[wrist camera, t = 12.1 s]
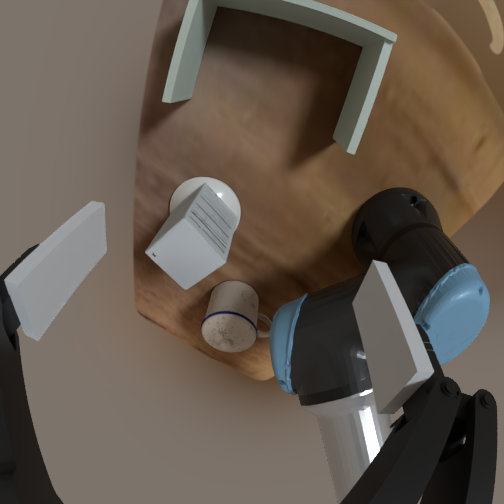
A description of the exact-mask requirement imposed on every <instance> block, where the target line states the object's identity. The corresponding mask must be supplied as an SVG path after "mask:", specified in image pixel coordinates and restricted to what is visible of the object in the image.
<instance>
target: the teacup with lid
mask: <svg viewBox="0 0 504 504" xmlns="http://www.w3.org/2000/svg"><path fill="white" fill-rule="evenodd" d="M258 304H259V299H258V295H257V293H256V292H255V290H254V289H253V288H252V287H251V286H249V285H247V284H246V283H243V282H240V281H226V282H223V283H220V284H219V285H217V286H216V287H215V288H214V290H213V291H212V294H211V297H210V301H209V305H208V308H207V312H206V316H205V319H204V320H203V322H202V325H201V332H202V335H203V338H204V339H205V341H206V342H207V343H208V344H209V345H211V346H212V347H214V348H216V349H218V350H221V351H224V352H240V351H244V350H246V349H248V348H249V347H251V346H252V345H253V344H254V342H255V341H256V339H257V337H261V338H267V337H269V336H270V330H271V324H272V322H271V320H270V319H269V318H268V317H267V316H265V315H263V314H261V313H258ZM257 319H259V320H261V321H263V322H264V323H265V324H266V325H267V327H268V330H269V331H267V332H264V331H260V330H257Z"/></svg>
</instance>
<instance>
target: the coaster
mask: <svg viewBox="0 0 504 504" xmlns="http://www.w3.org/2000/svg"><path fill="white" fill-rule="evenodd" d="M204 183H207V184H208V185H209V186H210V187H211V189H212V190H213V191H214V192H215V193H216V194H217V195H218V196H219V197H220V198H221V199H222V200H223V201H224V203H225V204H226V205H227V206H228V207H229V208H230V209H231V210H232V211H233V212H234V214H235V215H236V216H237V221H236V225H235V229H234V231H235V230H236V228H237V226H238V224H239V221H240V216H241V207H240V203H239V200H238V197H237V196H236V194H235V192H234V191H233V190H232V189H231V188H230V187H229V186H228V185H227V184H226V183H224V182H222V181H221V180H218V179H216V178H213V177H207V176H199V177H194V178H191V179H188V180H186V181H185V182H183V183H182V184H181V185H180V186H179V187H178V188H177V189H176V190H175V192H174V193H173V195H172V198H171V201H170V214H171V213H172V211H173V210H174V209H175V208H176V207H177V206H178V205H179V204H181V203H182V202H183V201H184V200H185V199H186V198H187V197H188V196H189V195H191V194H192V193H193V192H194V191H195V190H196V189H198V188H199V187H200V186H201V185H202V184H204Z"/></svg>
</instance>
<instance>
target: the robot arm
mask: <svg viewBox="0 0 504 504" xmlns="http://www.w3.org/2000/svg"><path fill="white" fill-rule="evenodd" d="M352 243H353V247H354V250H355V252H356V255H357V257H358V259H359V261H360V262H361V264H362V265H363V266H364V267H365V268H366V269H367V270H368V272H367V273H364V274H361V275H359V276H356V277H354V278H351V279H348V280H346V281H343V282H341V283H338V284H335V285H332V286H330V287H327V288H324V289H322V290H319V291H316V292H313V293H311V292H309V293H306V294H304V295H303V296H302V297H300V298H298V299H295V300H293V301H290V302H288V303H285V304H284V305H282V306H281V307H280V308H279V309H278V310H277V311H276V313H275V315H274V317H273V321H272V324H271V330H270V353H271V361H272V366H273V370H274V374H275V376H276V379H278V380H279V386H280V387H281V389H282V390H283V391H284V392H286V393H288V394H292V395H296V394H298V395H299V400H300V404H301V407H302V408H303V409H305V410H307V411H309V412H311V413H312V414H314V415H315V416H316V417H317V419H318V423H319V427H320V431H321V435H322V439H323V443H324V448H325V452H326V456H327V460H328V464H329V468H330V473H331V476H332V481H333V485H334V490H335V493H336V498H337V503H338V504H417V503H418V501H419V500H420V498H421V496H422V499H421V502H420V504H492V499H493V492H494V484H495V473H496V460H497V406H496V401H495V399H494V397H493V395H492V394H491V393H490V392H488V391H487V390H484V389H480V390H478V391H477V392H476V393H475V394H474V395H473V396H470V395H467V394H464V393H461V390H460V388H459V386H458V384H457V383H456V382H455V381H454V380H453V379H451V378H449V377H445V376H444V374H443V371H442V369H441V366H440V365H442V364H444V363H446V362H448V361H450V360H452V359H453V358H455V357H456V356H458V355H459V354H460V353H461V352H463V351H464V350H465V349H466V348H467V347H468V346H469V345H470V344H471V343H472V342H473V341H474V339H475V338H476V336H477V335H478V334H479V332H480V331H481V329H482V328H483V326H484V324H485V321H486V319H487V316H488V312H489V307H490V297H489V293H488V290H487V287H486V286H485V284H484V283H483V281H482V279H481V278H480V276H479V274H478V271H477V269H476V268H475V267H474V266H473V265H471V264H470V263H469V261H468V260H467V259H466V258H465V256H464V255H463V254H462V253H461V252H460V251H459V250H458V248H457V247H456V246H455V245H454V244H453V243H452V241H451V240H450V239H449V238H448V237H447V236H446V235H445V234H444V233H443V229H442V226H441V223H440V219H439V216H438V214H437V211H436V210H435V208H434V206H433V205H432V204H431V203H430V202H429V201H428V200H427V199H426V198H425V197H424V196H423V195H422V194H420V193H419V192H417V191H415V190H412V189H409V188H391V189H387V190H385V191H382V192H380V193H378V194H377V195H375V196H373V197H372V198H371V199H370V200H368V201H367V202H366V203H365V205H364V206H363V207H362V208H361V210H360V211H359V213H358V215H357V216H356V219H355V221H354V224H353V229H352ZM106 252H107V248H106V230H105V204H104V203H100V202H94V201H91V202H90V203H89V204H87V205H86V206H85V207H84V208H82V209H81V210H80V211H79V212H77V213H76V214H75V215H74V216H73V217H71V218H70V219H69V220H68V221H67V222H65V223H64V224H63V225H62V226H61V227H59V228H58V229H57V230H56V231H55V232H54V233H53V234H52V235H51V236H49V237H48V238H47V239H46V240H45V241H44V242H42V243H41V244H37V245H35V246H33V247H31V248H29V249H28V250H27V251H26V252H25V253H23V254H22V255H21V257H20V258H18V259H17V260H16V261H15V263H13V264H12V265H11V266H10V267H9V268H8V269H7V270H6V271H5V272H4V273H3V274H2V275H1V276H0V504H63V502H62V501H61V499H60V498H59V497H58V496H57V494H56V492H55V490H54V488H53V486H52V484H51V481H50V478H49V475H48V472H47V470H46V467H45V464H44V461H43V458H42V455H41V452H40V448H39V445H38V442H37V438H36V434H35V430H34V427H33V422H32V418H31V414H30V410H29V405H28V400H27V395H26V390H25V384H24V378H23V371H22V364H21V356H20V346H19V336H18V333H17V331H16V330H17V328H18V327H19V326H20V324H21V327H22V329H23V331H24V334H25V335H27V336H29V337H31V338H33V339H35V340H37V341H39V340H40V338H41V337H42V335H43V334H44V332H45V331H46V329H47V328H48V326H49V325H50V324H51V322H52V321H53V320H54V318H55V317H56V315H57V314H58V313H59V311H60V310H61V309H62V307H63V306H64V304H65V303H66V302H67V300H68V299H69V298H70V297H71V295H72V294H73V293H74V291H75V290H76V289H77V287H78V286H79V285H80V283H81V282H82V281H83V280H84V278H85V277H86V276H87V275H88V273H89V272H90V271H91V270H92V269H93V267H94V266H95V265H96V264H97V262H98V261H99V260H100V259H101V258H102V256H103V255H104V254H105V253H106ZM402 406H403V410H404V414H403V415H402V416H401V417H400V418H398V419H397V420H396V421H395V422H394V423H393V424H392V423H391V419H390V414H394V413H395V412H396V411H397V410H398V409H399V408H400V407H402ZM393 426H394V428H392V427H393ZM465 437H466V440H465V444H463V440H464V438H465ZM422 494H423V495H422Z"/></svg>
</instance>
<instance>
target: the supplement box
mask: <svg viewBox="0 0 504 504" xmlns="http://www.w3.org/2000/svg"><path fill="white" fill-rule="evenodd" d="M236 221H237V216H236V215H235V214H234V212H233V211H232V210H231V209H230V208H229V207H228V206H227V205H226V204H225V203H224V201H223V200H222V199H221V198H220V197H219V196H218V195H217V194H216V193H215V192H214V191H213V190H212V189H211V187H210V186H209V185H208V184H207V183H204V184H202V185H201V186H200V187H199V188H198V189H196V190H195V191H194V192H193V193H192V194H191V195H189V196H188V197H187V198H186V199H185V200H184V201H183V202H182V203H181V204H179V205H178V206H177V207H176V208H175V209H174V210H173V211H172V213H171V214H170V216H169V217H168V219H167V220H166V221H165V223H164V224H163V226H162V227H161V229H160V230H159V232H158V233H157V234H156V236H155V237H154V239H153V240H152V242H151V243H150V245H149V246H148V248H147V249H146V251H145V253H146V254H147V255H148V256H149V257H150V258H151V259H152V260H153V261H154V262H155V263H156V264H157V265H158V266H159V267H161V268H162V269H163V270H164V271H165V272H166V273H167V274H168V275H169V276H170V277H171V278H172V279H173V280H175V281H176V282H177V283H178V284H179V285H180V286H181V287H182V288H184V289H185V290H187V289H189V288H190V287H192V286H193V285H195V284H196V283H198V282H199V281H200V280H202V279H203V278H205V277H206V276H208V275H209V274H210V273H212V272H213V271H215V270H216V269H217V268H219V267H220V266H222V265H223V264H225V263H226V260H227V256H228V253H229V249H230V245H231V241H232V237H233V233H234V229H235V225H236Z"/></svg>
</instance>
